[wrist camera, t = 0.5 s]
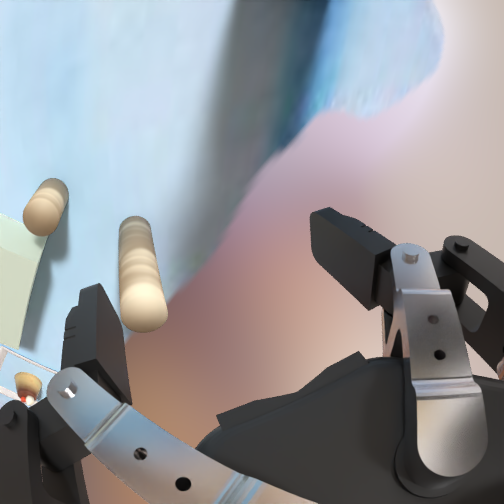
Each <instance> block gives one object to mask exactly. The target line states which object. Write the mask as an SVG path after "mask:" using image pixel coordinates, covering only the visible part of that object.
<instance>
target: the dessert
mask: <svg viewBox="0 0 504 504" xmlns="http://www.w3.org/2000/svg"><path fill="white" fill-rule="evenodd" d="M7 352H9V353H11V354H13V355H15V356H17V357H19V358H21V359H23V360H25V361H27V362H29V363H32V364H34V365H36V366H38V367H40V368H43V369H45V370H47V371H49V372H52V373H54V374H57V373H58V372H56V371H54V370H51V369H49V368H47V367H45V366H42V365H40V364H38V363H36V362H34V361H31V360H29V359H27V358H25V357H23V356H21V355H19V354H17V353H15V352H13V351H11V350H9V349H7V348H5V347H3V346H1V347H0V369H1V367H2V364H3V362H4V359H5V357H6V354H7ZM15 383H16V390H17V393H15V392H13V391H11V390H8V389H6V388H4V387H2V386H0V393H1V394H4V395H6V396H8V397H10V398H13V399H15V400H19V401H21V402H23V403H24V404H27V406H28V405H29V406H33V405H34V404H36V403H37V401H36V399H37V396H38V394H39V391H40V389H41V387H42V382H41V381H40V379H39V378H37V377H36V376H34V375H32V374H30V373H25V372H20V373H17V374H16V375H15Z"/></svg>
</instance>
